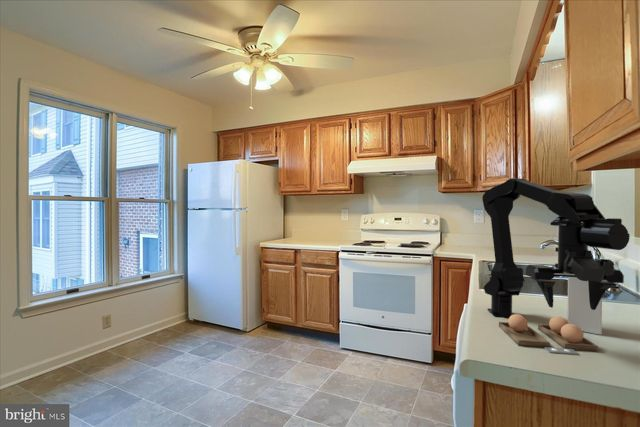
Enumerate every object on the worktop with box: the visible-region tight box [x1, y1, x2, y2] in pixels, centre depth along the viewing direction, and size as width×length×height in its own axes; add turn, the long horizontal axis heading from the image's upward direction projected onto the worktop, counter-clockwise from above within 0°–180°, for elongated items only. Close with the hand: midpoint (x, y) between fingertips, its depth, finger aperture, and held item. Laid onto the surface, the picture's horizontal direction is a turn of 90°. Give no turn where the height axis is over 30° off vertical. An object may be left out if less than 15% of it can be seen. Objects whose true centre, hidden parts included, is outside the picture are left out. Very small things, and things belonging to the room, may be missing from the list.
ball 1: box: [507, 313, 528, 331], centre depth 86 cm, size 4×4×4 cm
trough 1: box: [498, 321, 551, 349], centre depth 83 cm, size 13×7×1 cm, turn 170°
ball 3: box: [561, 324, 584, 343], centre depth 79 cm, size 4×4×4 cm
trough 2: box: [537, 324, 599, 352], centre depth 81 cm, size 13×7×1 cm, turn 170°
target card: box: [543, 346, 580, 356], centre depth 74 cm, size 2×6×1 cm, turn 80°
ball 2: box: [548, 316, 569, 334], centre depth 84 cm, size 4×4×4 cm
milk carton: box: [566, 277, 603, 335], centre depth 89 cm, size 7×7×19 cm
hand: (571, 308), depth 79 cm, fingers open, 9 cm apart
